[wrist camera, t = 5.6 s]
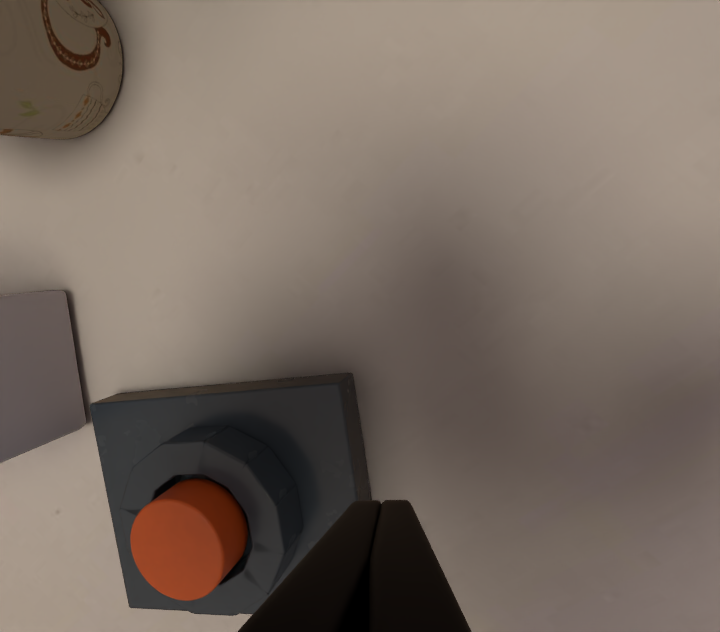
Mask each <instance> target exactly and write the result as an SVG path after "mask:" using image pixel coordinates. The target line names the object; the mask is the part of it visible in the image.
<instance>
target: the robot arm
mask: <svg viewBox="0 0 720 632" xmlns="http://www.w3.org/2000/svg"><path fill="white" fill-rule="evenodd" d="M238 632H471V630H470V628H469V625H468V623H467V621H466V619H465V617H464V615H463V613H462V611H461V609H460V606H459V604H458V602H457V600H456V598H455V596H454V594H453V592H452V589H451V587H450V585H449V583H448V581H447V579H446V577H445V575H444V573H443V570H442V568H441V566H440V564H439V562H438V560H437V558H436V556H435V554H434V551H433V549H432V547H431V545H430V543H429V541H428V539H427V537H426V535H425V532H424V530H423V528H422V526H421V524H420V522H419V520H418V518H417V516H416V513H415V511H414V509H413V507H412V505H411V503H410V502H409V501H408V500H385V501H384V502H383V503H382V504H381V503H380V501H378V500H363V501H355V502H353V503H352V504H351V505H350V506H349V507H348V508H347V510H346V511H345V512H344V513H343V514H342V515H341V516H340V517H339V519H338V520H337V521H336V522H335V523H334V524H333V525H332V526H331V528H330V529H329V530H328V531H327V532H326V533H325V534H324V535H323V537H322V538H321V539H320V540H319V541H318V542H317V543H316V544H315V545H314V547H313V548H312V549H311V550H310V551H309V552H308V553H307V554H306V556H305V557H304V558H303V559H302V560H301V561H300V562H299V563H298V565H297V566H296V567H295V568H294V569H293V570H292V571H291V572H290V574H289V575H288V576H287V577H286V578H285V579H284V580H283V581H282V582H281V584H280V585H279V586H278V587H277V588H276V589H275V590H274V591H273V593H272V594H271V595H270V596H269V597H268V598H267V599H266V600H265V602H264V603H263V604H262V605H261V606H260V607H259V608H258V609H257V611H256V612H255V613H254V614H253V615H252V616H251V617H250V618H249V619H248V621H247V622H246V623H245V624H244V625H243V626H242V627H241V628H240V630H239V631H238Z"/></svg>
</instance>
